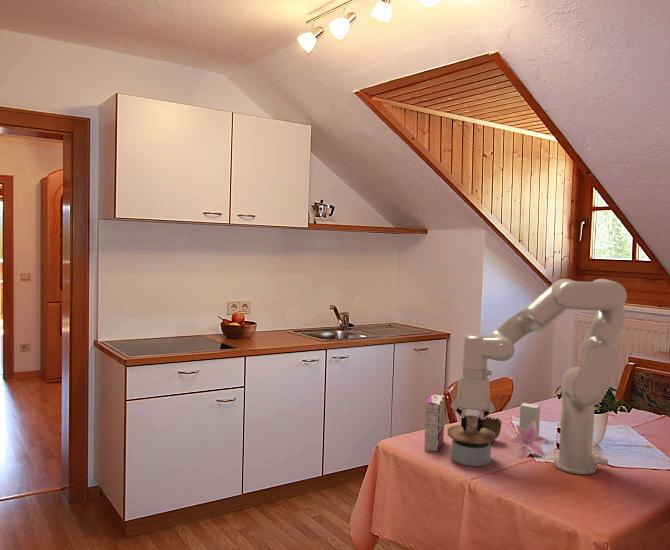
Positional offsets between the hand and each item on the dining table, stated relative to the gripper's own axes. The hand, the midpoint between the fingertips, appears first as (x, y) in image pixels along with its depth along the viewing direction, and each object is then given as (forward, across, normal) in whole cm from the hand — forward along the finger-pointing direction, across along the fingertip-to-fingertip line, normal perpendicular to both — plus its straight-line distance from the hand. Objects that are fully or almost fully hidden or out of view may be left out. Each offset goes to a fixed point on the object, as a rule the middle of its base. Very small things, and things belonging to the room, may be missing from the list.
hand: (471, 429), depth 199 cm
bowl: (+10, 0, 0) cm, 10 cm away
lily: (+10, -19, -10) cm, 24 cm away
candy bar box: (+10, +12, -10) cm, 19 cm away
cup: (+10, -7, -19) cm, 23 cm away
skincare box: (+10, -21, -27) cm, 36 cm away
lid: (+2, 0, 0) cm, 2 cm away
